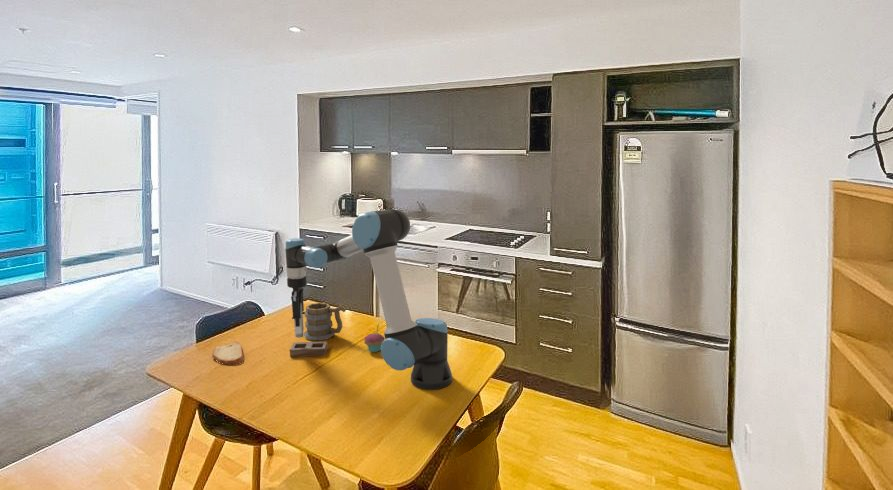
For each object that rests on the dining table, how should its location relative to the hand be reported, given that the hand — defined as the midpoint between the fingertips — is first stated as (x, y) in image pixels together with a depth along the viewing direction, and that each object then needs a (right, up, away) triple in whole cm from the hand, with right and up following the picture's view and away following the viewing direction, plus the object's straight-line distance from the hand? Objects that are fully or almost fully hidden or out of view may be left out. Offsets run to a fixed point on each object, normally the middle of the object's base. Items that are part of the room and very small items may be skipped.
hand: (299, 331), depth 206 cm
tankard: (+6, -6, +20) cm, 22 cm away
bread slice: (-28, -10, -1) cm, 30 cm away
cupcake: (+30, -9, +5) cm, 32 cm away
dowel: (0, -2, 0) cm, 2 cm away
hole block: (+4, -9, +2) cm, 10 cm away
